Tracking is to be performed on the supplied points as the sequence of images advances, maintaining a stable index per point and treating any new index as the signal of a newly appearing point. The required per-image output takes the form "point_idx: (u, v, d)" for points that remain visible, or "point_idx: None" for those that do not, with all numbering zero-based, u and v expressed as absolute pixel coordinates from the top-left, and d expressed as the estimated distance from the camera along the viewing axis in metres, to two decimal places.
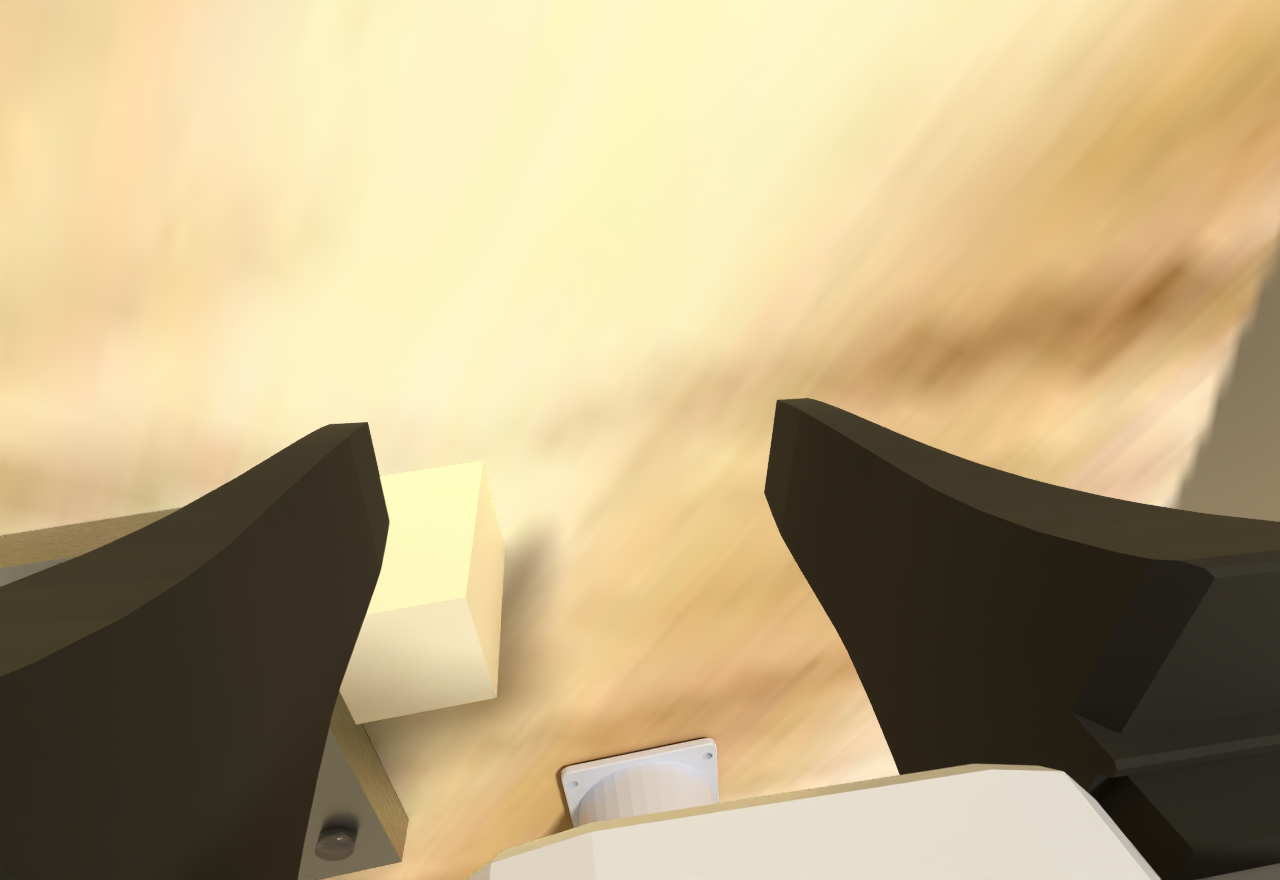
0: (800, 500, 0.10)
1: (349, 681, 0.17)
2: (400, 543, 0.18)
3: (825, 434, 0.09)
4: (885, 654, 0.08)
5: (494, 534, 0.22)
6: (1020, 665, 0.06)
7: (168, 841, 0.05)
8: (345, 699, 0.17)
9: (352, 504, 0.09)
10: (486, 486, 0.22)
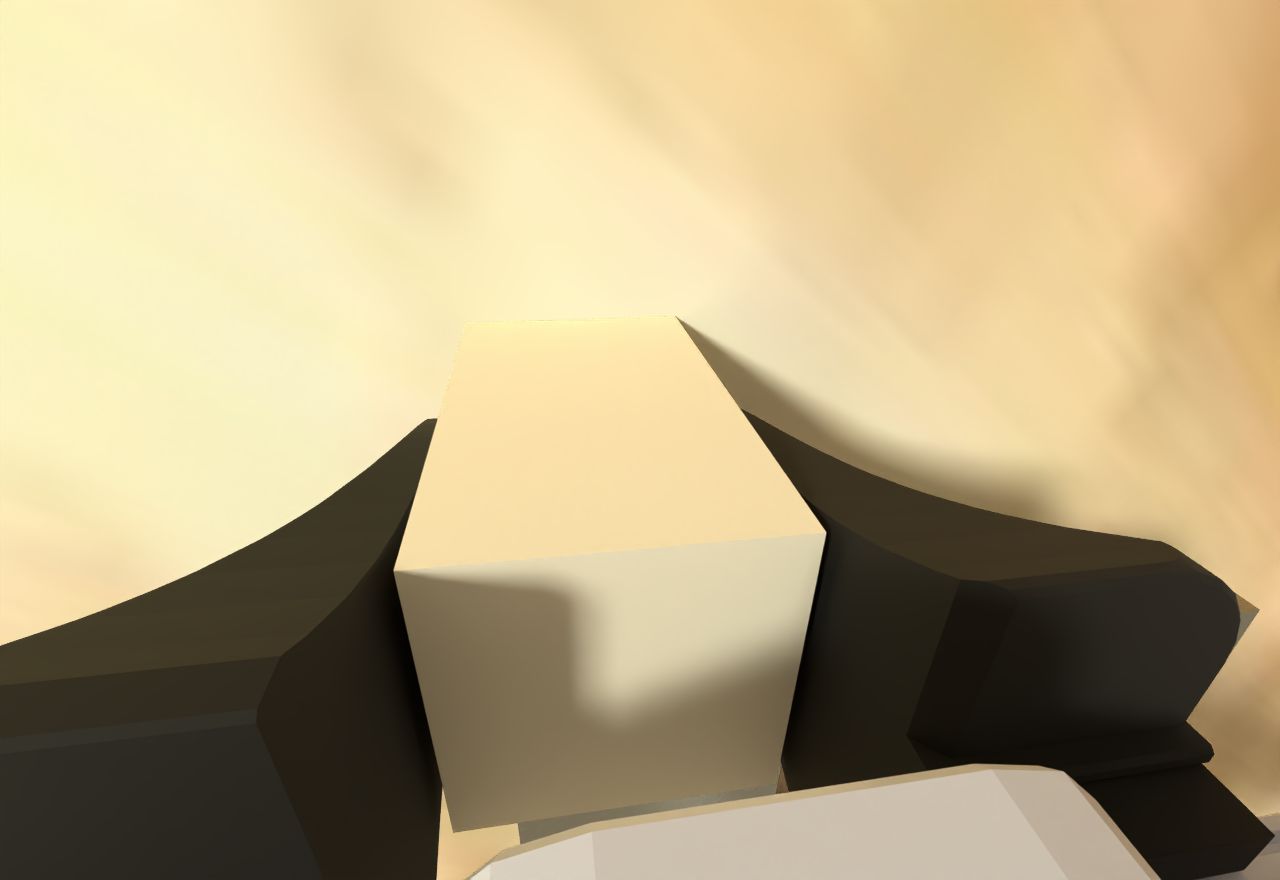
0: None
1: (642, 787, 0.07)
2: None
3: None
4: None
5: (595, 343, 0.10)
6: (868, 684, 0.06)
7: (375, 812, 0.05)
8: (693, 793, 0.08)
9: None
10: (504, 332, 0.11)
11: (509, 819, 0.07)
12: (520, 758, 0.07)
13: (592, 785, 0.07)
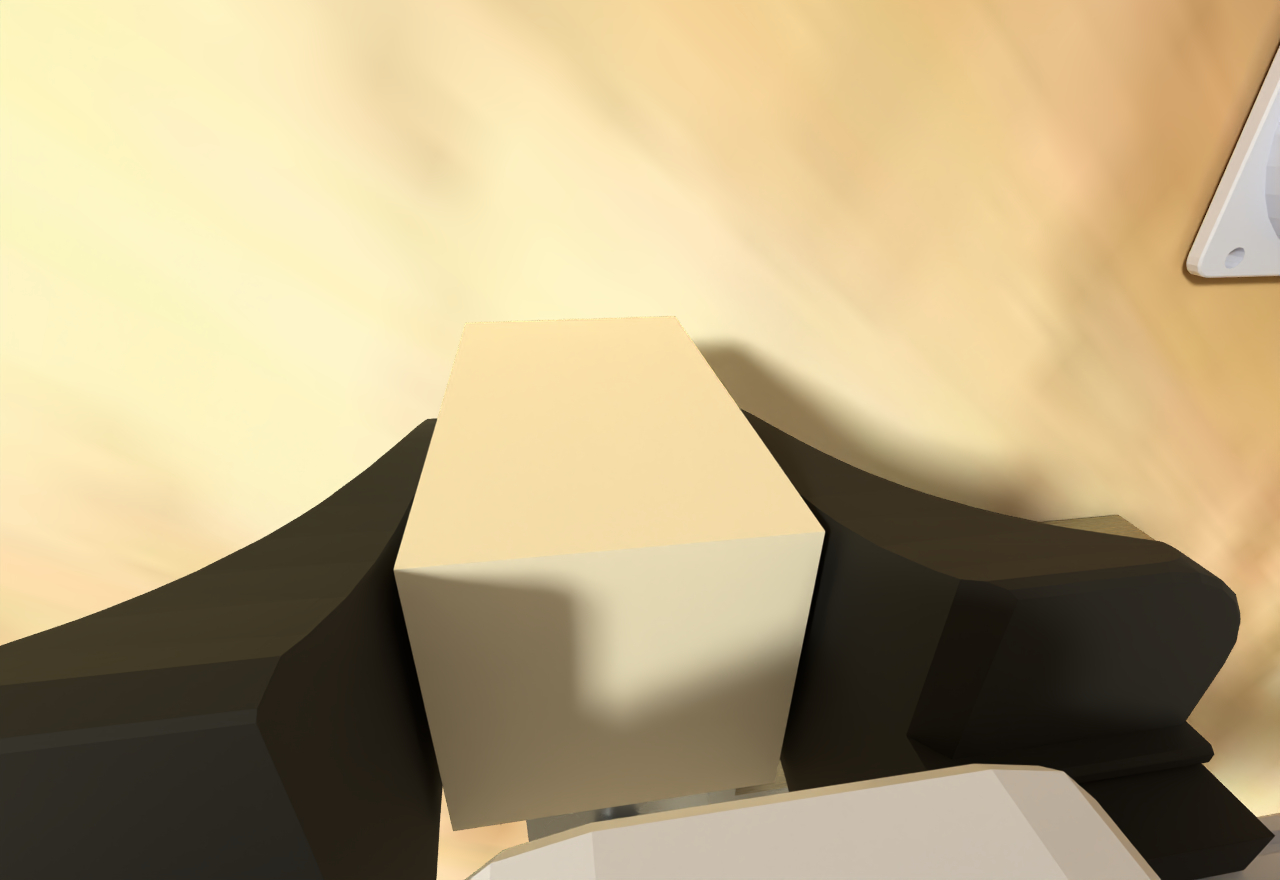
0: None
1: (641, 785, 0.07)
2: None
3: None
4: None
5: (595, 343, 0.10)
6: (869, 684, 0.06)
7: (376, 811, 0.05)
8: (692, 792, 0.08)
9: None
10: (504, 332, 0.11)
11: (508, 817, 0.07)
12: (520, 757, 0.07)
13: (592, 784, 0.07)
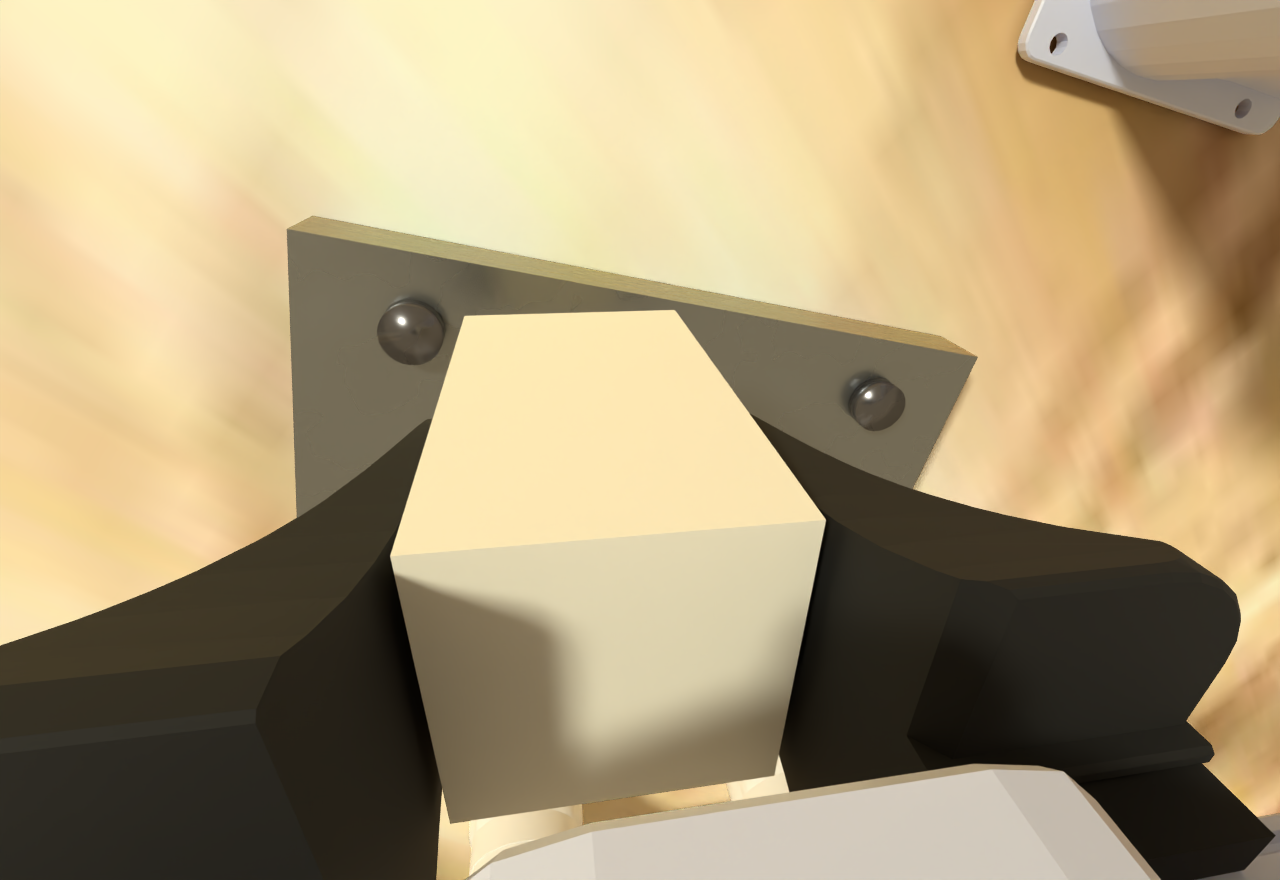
0: None
1: (640, 778, 0.07)
2: None
3: None
4: None
5: (594, 336, 0.10)
6: (870, 684, 0.06)
7: (375, 812, 0.05)
8: (692, 785, 0.08)
9: None
10: (503, 325, 0.11)
11: (506, 810, 0.07)
12: (518, 748, 0.07)
13: (590, 776, 0.07)
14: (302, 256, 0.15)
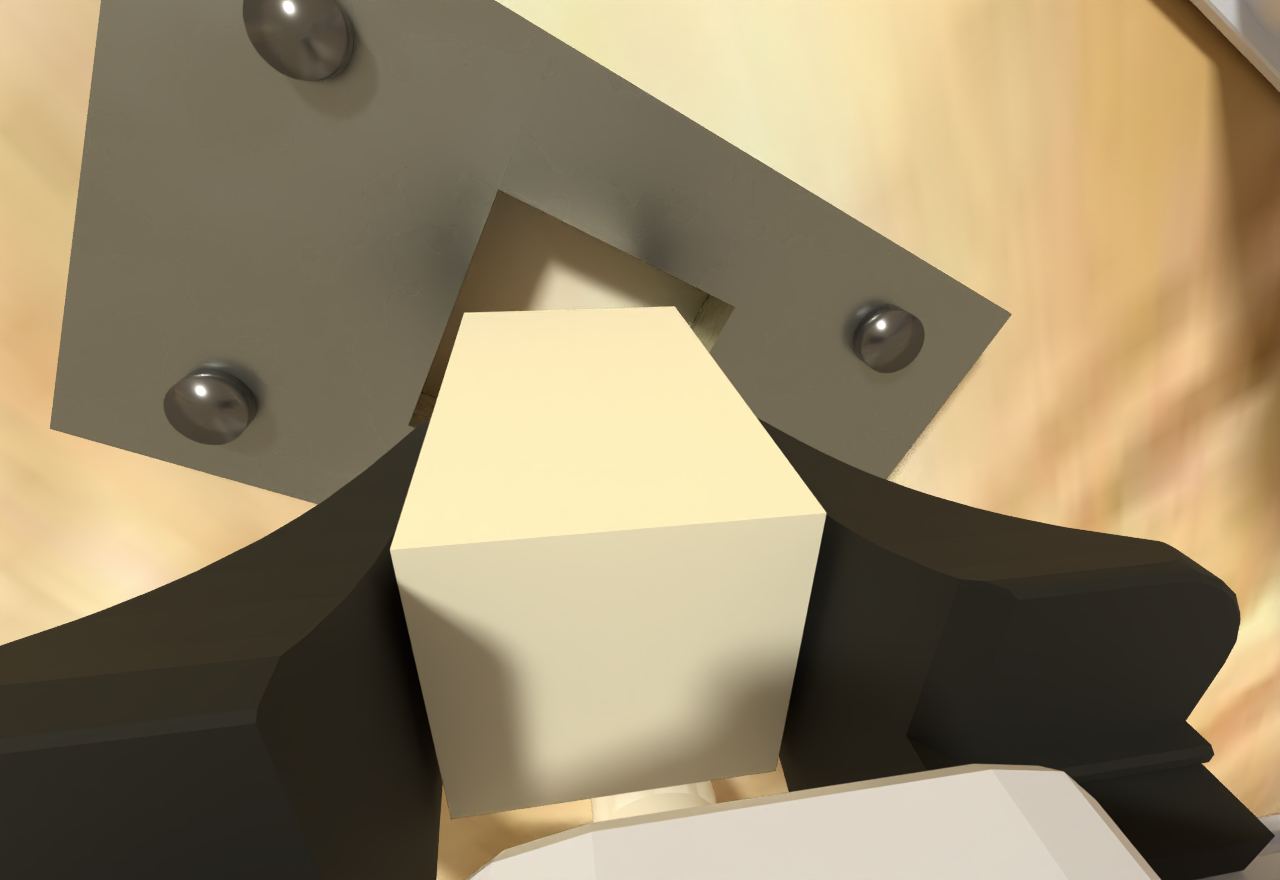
0: None
1: (641, 773, 0.07)
2: None
3: None
4: None
5: (594, 332, 0.10)
6: (869, 683, 0.06)
7: (375, 811, 0.05)
8: (693, 780, 0.08)
9: None
10: (502, 321, 0.11)
11: (507, 806, 0.07)
12: (518, 743, 0.07)
13: (591, 771, 0.07)
14: None
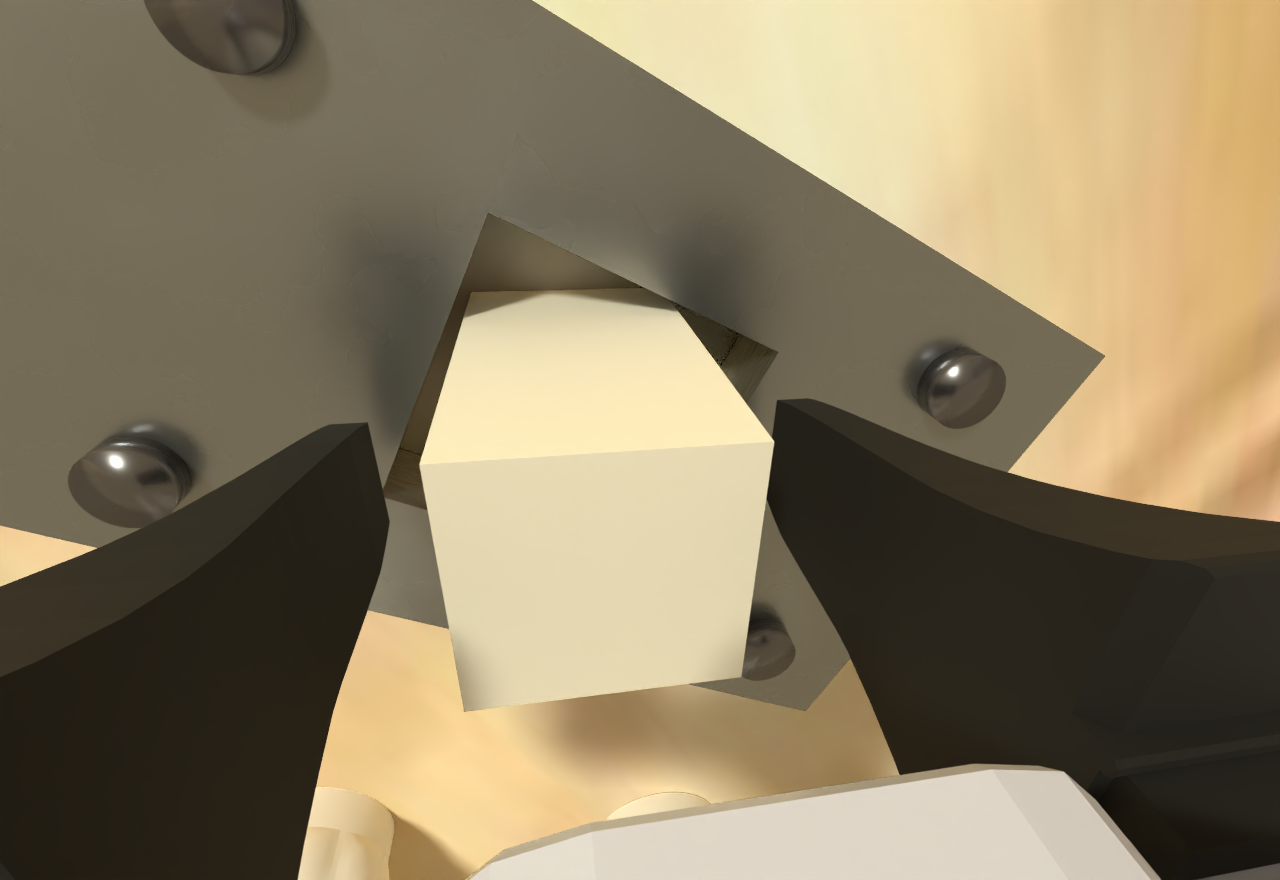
0: (800, 500, 0.10)
1: (626, 675, 0.09)
2: None
3: (825, 434, 0.09)
4: (885, 654, 0.08)
5: (587, 308, 0.12)
6: (1019, 665, 0.06)
7: (168, 841, 0.05)
8: (670, 683, 0.09)
9: (352, 505, 0.09)
10: (506, 299, 0.12)
11: (512, 702, 0.09)
12: (522, 642, 0.08)
13: (583, 671, 0.08)
14: None
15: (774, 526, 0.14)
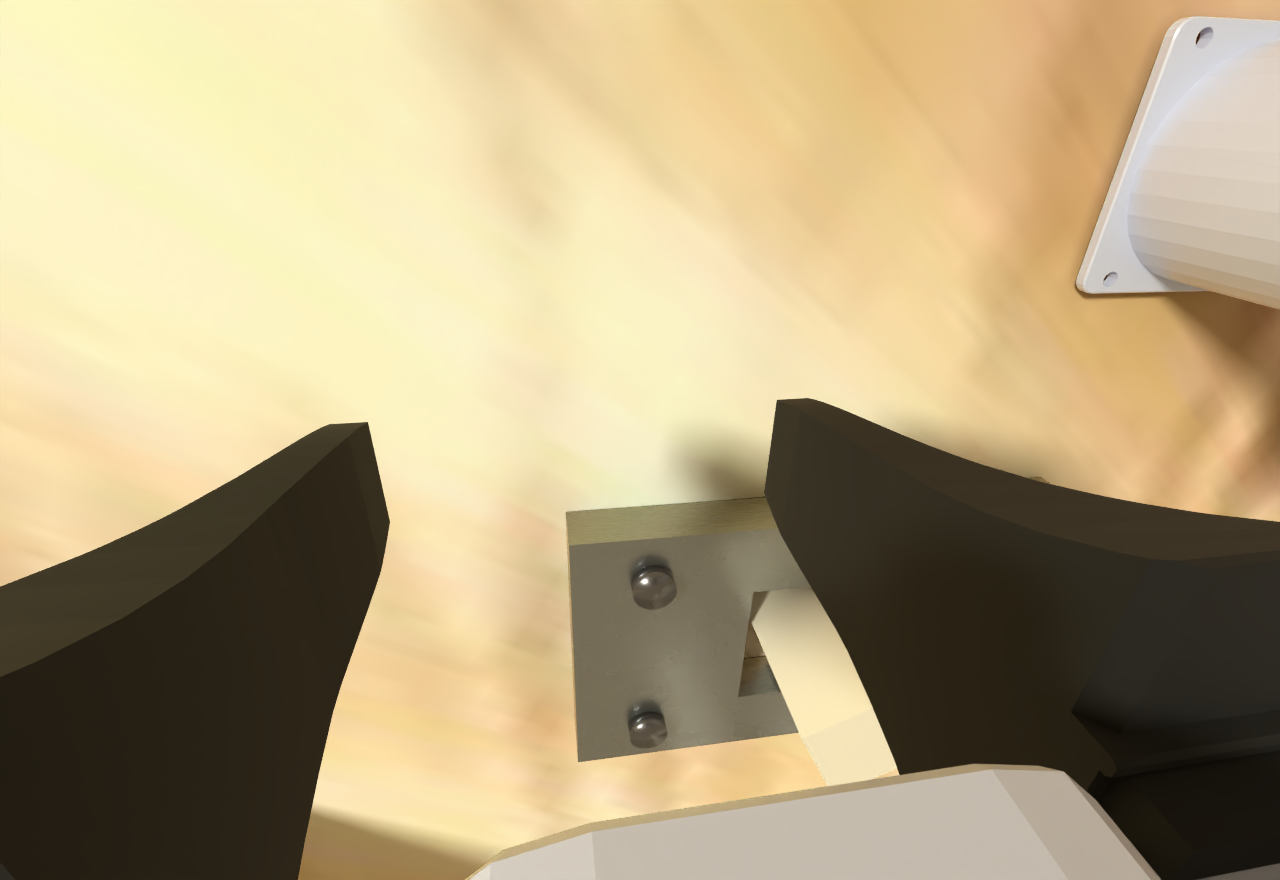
0: (800, 500, 0.10)
1: (888, 766, 0.22)
2: None
3: (825, 434, 0.09)
4: (885, 654, 0.08)
5: (799, 593, 0.25)
6: (1020, 664, 0.06)
7: (168, 841, 0.05)
8: None
9: (352, 505, 0.09)
10: (758, 595, 0.26)
11: None
12: (846, 770, 0.22)
13: (871, 770, 0.22)
14: (578, 558, 0.21)
15: None
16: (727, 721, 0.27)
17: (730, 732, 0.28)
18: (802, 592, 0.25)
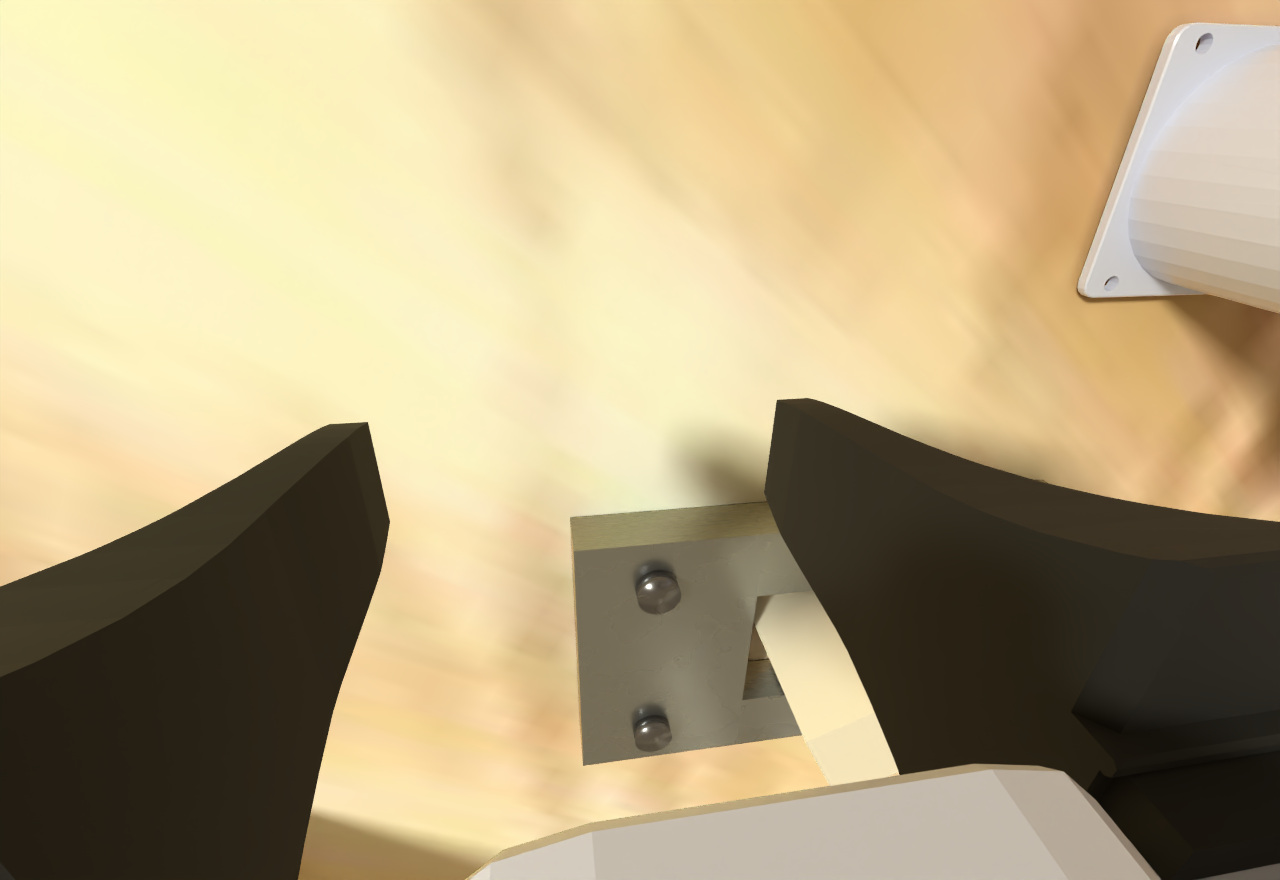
0: (800, 500, 0.10)
1: (892, 769, 0.22)
2: None
3: (825, 434, 0.09)
4: (885, 654, 0.08)
5: (803, 596, 0.25)
6: (1019, 664, 0.06)
7: (168, 841, 0.05)
8: None
9: (352, 505, 0.09)
10: (762, 599, 0.26)
11: None
12: (850, 773, 0.22)
13: (875, 773, 0.22)
14: (583, 563, 0.22)
15: None
16: (731, 724, 0.27)
17: (734, 735, 0.28)
18: (805, 595, 0.25)
